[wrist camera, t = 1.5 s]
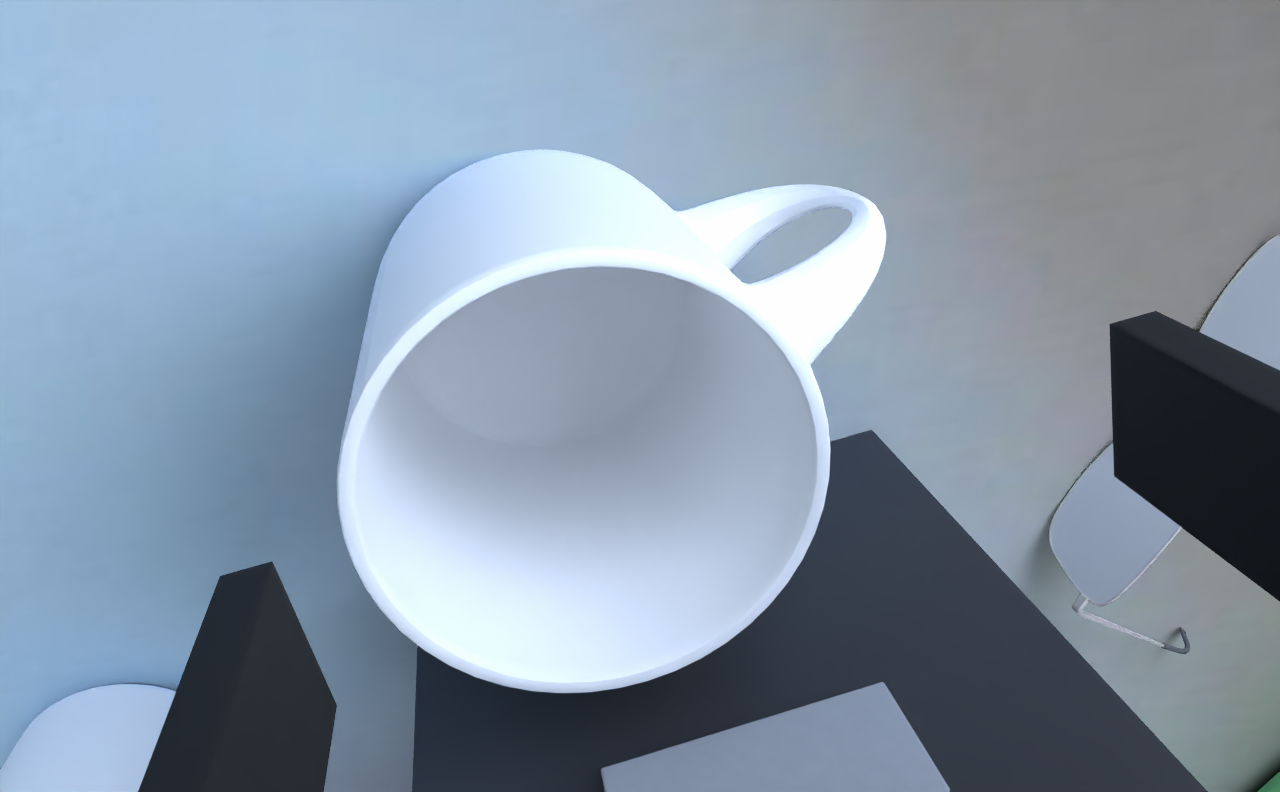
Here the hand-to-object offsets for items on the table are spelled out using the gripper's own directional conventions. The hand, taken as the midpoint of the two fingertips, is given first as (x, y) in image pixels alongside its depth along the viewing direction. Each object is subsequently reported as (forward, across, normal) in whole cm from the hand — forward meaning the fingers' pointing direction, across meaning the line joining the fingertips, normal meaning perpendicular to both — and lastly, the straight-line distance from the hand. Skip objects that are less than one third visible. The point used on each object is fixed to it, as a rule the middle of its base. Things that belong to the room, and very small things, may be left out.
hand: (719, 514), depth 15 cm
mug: (+13, 0, 0) cm, 13 cm away
